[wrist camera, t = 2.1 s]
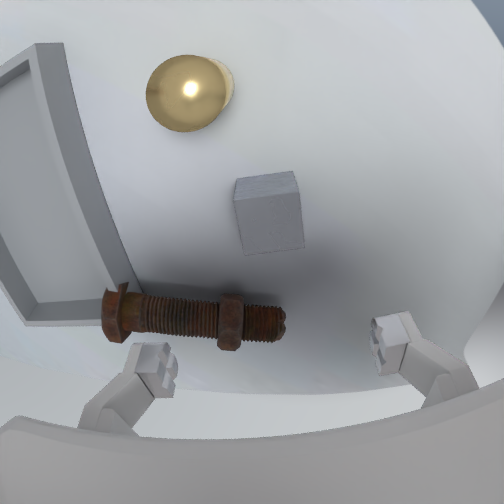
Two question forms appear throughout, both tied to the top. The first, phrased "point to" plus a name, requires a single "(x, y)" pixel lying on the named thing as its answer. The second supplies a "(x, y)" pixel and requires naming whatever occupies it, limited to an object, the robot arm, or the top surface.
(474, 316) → the top surface
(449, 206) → the top surface
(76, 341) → the top surface
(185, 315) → the bolt
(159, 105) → the brass cylinder
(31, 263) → the parts tray
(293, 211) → the steel block
